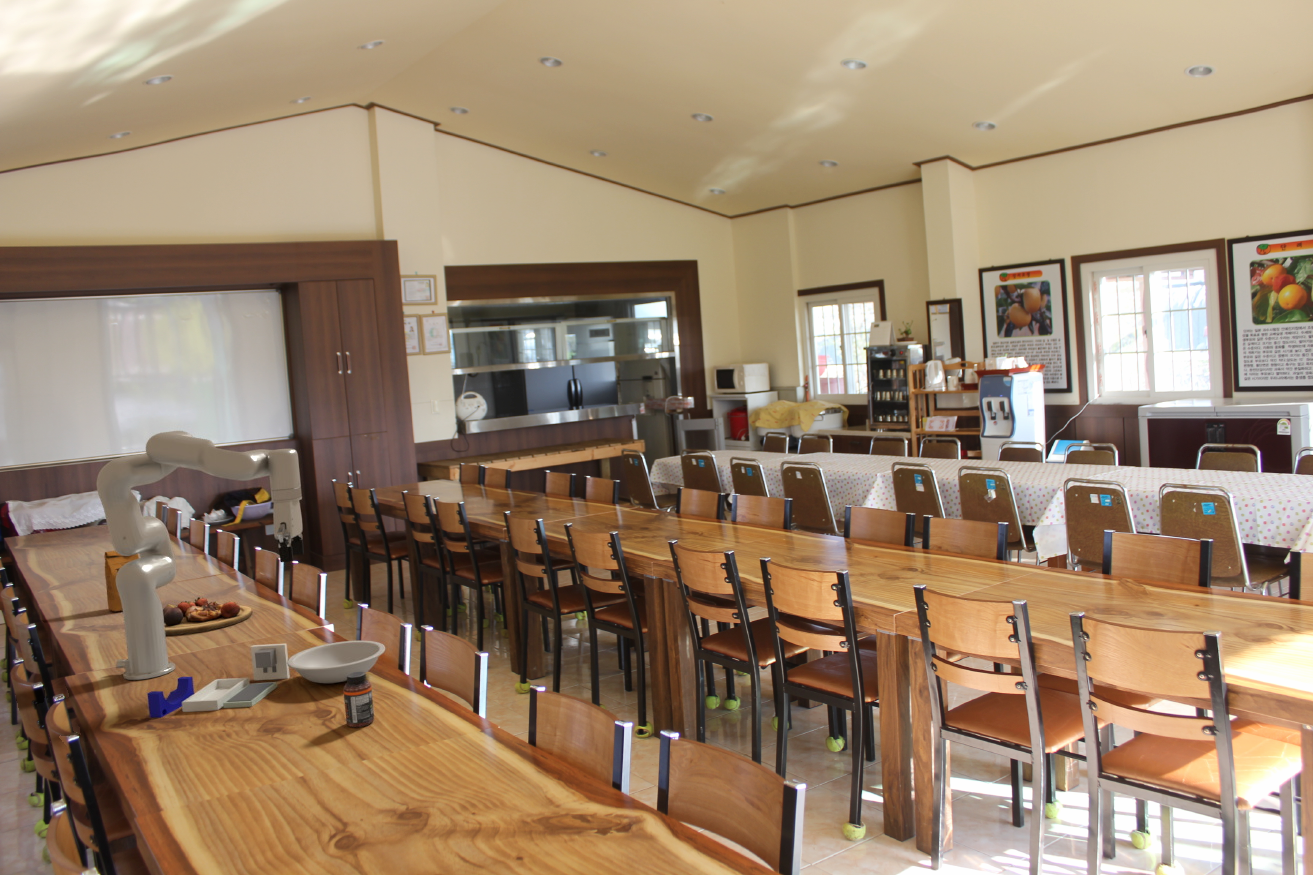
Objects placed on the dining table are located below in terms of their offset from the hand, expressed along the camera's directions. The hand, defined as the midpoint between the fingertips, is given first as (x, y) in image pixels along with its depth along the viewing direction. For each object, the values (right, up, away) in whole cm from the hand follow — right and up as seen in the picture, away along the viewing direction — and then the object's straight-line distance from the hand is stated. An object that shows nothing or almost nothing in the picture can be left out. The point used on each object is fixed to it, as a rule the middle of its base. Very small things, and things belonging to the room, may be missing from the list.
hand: (292, 558), depth 255 cm
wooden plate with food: (-54, -30, +61) cm, 87 cm away
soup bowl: (+16, -30, -10) cm, 36 cm away
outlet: (-3, -31, -8) cm, 32 cm away
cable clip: (-20, -34, -25) cm, 46 cm away
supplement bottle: (+32, -32, -44) cm, 63 cm away
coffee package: (-93, -30, +89) cm, 132 cm away
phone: (-2, -32, -21) cm, 38 cm away
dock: (-11, -32, -20) cm, 40 cm away
